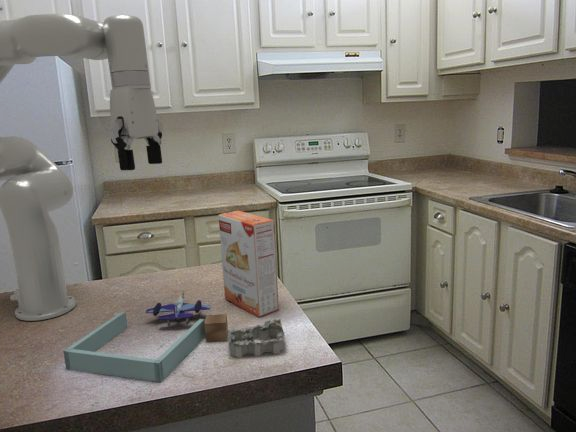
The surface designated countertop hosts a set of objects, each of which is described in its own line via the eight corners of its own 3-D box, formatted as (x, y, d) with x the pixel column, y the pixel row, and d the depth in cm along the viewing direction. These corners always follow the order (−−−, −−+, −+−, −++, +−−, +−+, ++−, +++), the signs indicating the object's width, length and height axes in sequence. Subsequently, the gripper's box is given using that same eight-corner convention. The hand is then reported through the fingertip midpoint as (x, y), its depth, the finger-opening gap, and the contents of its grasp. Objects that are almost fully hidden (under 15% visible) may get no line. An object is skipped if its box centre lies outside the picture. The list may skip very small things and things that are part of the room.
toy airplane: (185, 299, 114) (184, 285, 114) (223, 315, 105) (222, 300, 104) (135, 318, 105) (133, 303, 104) (172, 338, 96) (170, 321, 95)
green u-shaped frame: (66, 369, 85) (63, 351, 85) (123, 326, 101) (121, 311, 101) (160, 382, 80) (158, 363, 79) (205, 335, 96) (204, 319, 95)
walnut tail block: (206, 343, 93) (204, 323, 92) (208, 333, 97) (206, 315, 96) (226, 341, 93) (225, 322, 93) (228, 332, 97) (226, 313, 96)
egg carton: (283, 337, 95) (283, 318, 94) (286, 356, 87) (285, 335, 87) (229, 340, 94) (228, 321, 93) (227, 360, 87) (225, 339, 86)
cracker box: (223, 300, 113) (216, 213, 109) (244, 293, 117) (239, 209, 112) (257, 318, 103) (252, 223, 98) (279, 310, 106) (275, 218, 102)
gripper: (140, 84, 106) (150, 162, 110) (85, 82, 90) (99, 173, 94) (170, 81, 104) (179, 161, 108) (119, 79, 88) (132, 172, 92)
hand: (142, 166), depth 101 cm, fingers open, 9 cm apart
